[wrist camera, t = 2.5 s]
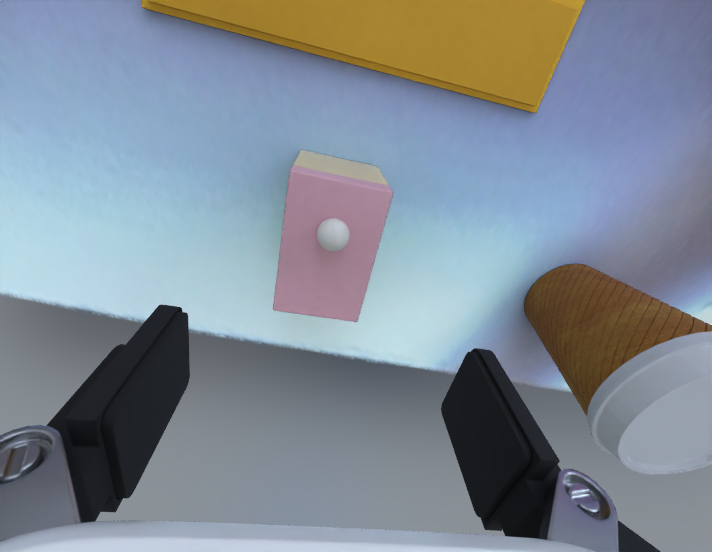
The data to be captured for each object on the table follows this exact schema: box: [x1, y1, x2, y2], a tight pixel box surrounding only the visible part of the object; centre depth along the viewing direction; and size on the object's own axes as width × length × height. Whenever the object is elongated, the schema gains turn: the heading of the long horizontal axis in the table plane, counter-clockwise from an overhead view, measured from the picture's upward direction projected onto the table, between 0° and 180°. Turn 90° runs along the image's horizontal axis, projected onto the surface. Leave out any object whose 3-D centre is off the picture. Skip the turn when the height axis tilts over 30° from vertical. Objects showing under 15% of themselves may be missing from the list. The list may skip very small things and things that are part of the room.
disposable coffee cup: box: [524, 264, 712, 475], centre depth 22 cm, size 10×10×12 cm
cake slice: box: [273, 150, 393, 322], centre depth 19 cm, size 5×8×7 cm, turn 167°
